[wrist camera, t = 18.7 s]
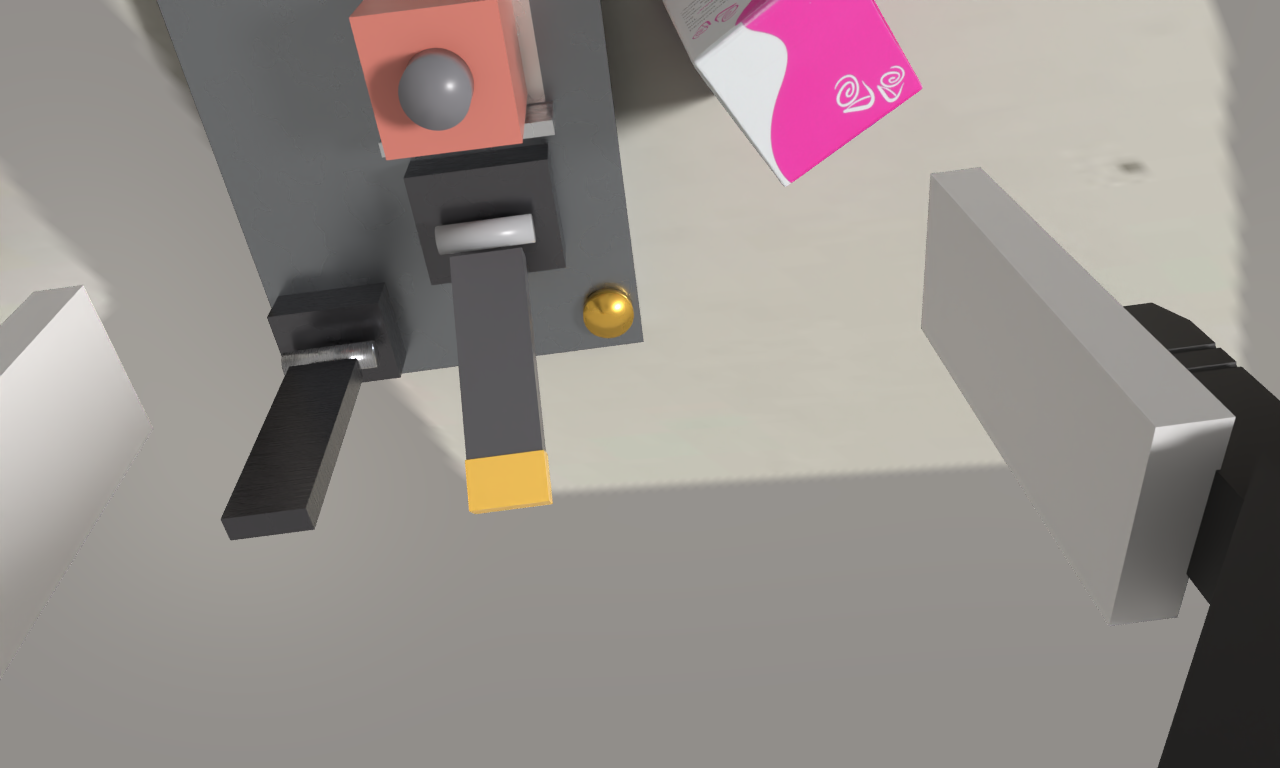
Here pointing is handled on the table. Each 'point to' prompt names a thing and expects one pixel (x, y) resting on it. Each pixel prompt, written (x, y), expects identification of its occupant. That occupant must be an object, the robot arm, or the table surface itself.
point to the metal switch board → (393, 216)
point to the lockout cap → (441, 74)
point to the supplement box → (796, 71)
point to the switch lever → (497, 364)
